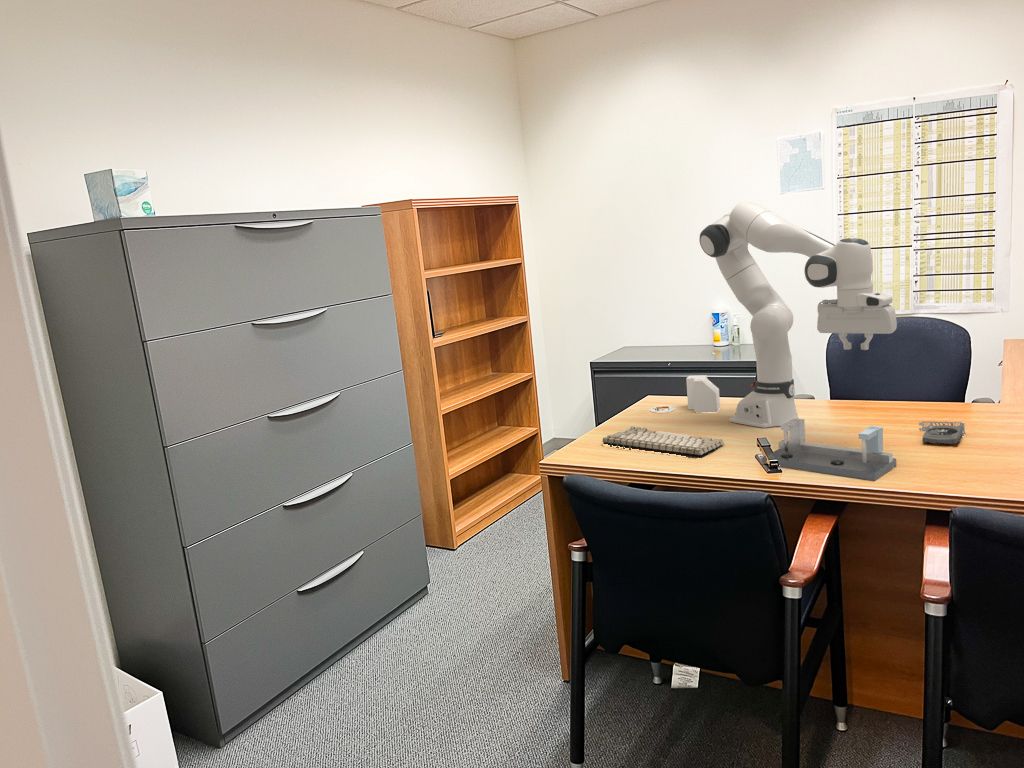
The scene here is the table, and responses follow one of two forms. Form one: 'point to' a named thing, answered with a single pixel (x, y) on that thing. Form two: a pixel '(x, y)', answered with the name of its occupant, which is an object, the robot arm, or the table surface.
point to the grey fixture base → (828, 456)
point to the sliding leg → (871, 441)
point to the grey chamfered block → (702, 394)
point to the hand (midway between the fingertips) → (856, 349)
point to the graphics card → (942, 432)
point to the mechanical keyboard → (664, 442)
